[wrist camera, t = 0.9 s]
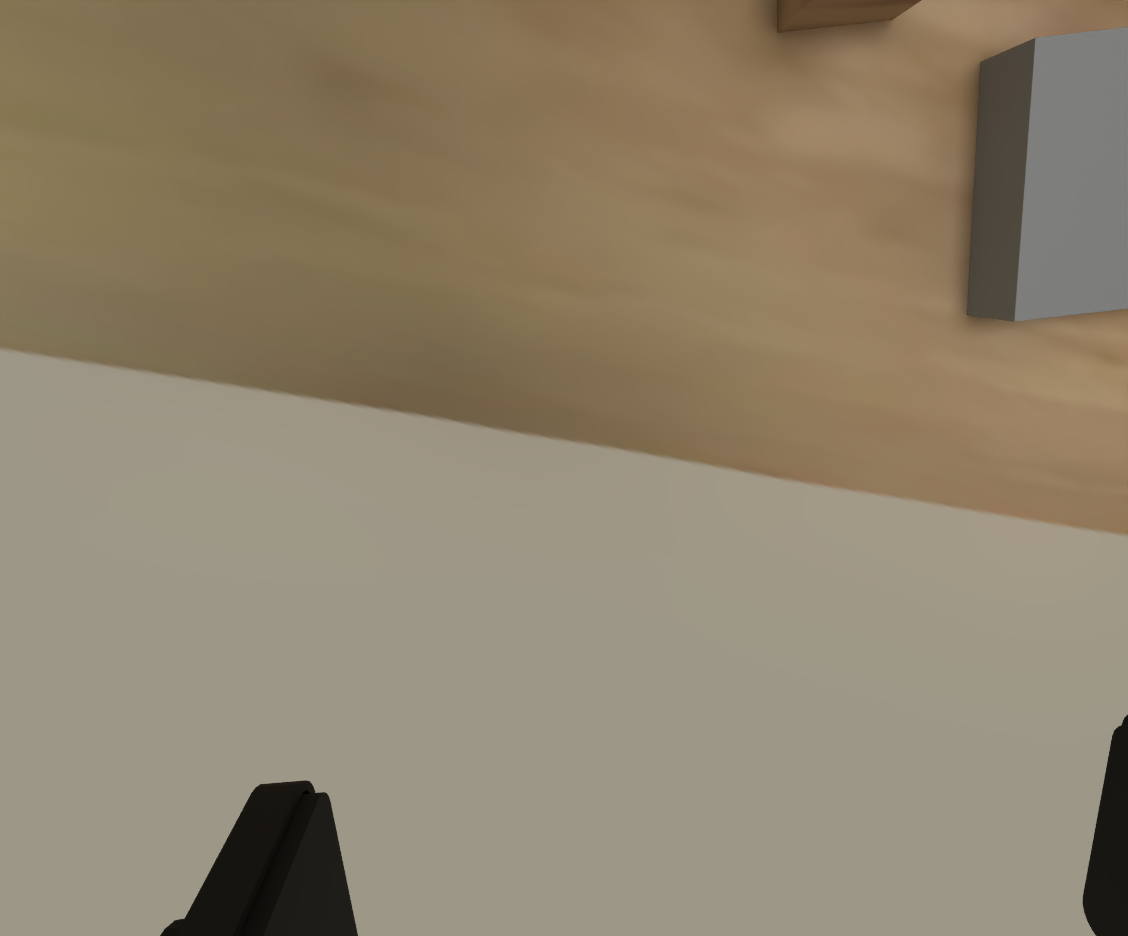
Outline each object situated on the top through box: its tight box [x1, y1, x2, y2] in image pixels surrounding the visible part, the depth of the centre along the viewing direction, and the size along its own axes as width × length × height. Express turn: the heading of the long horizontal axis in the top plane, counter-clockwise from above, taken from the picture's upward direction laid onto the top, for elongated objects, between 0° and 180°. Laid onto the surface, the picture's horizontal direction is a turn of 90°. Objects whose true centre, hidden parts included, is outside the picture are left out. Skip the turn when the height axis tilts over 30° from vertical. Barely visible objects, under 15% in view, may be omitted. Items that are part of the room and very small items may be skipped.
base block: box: [967, 27, 1128, 322], centre depth 31 cm, size 11×11×4 cm
